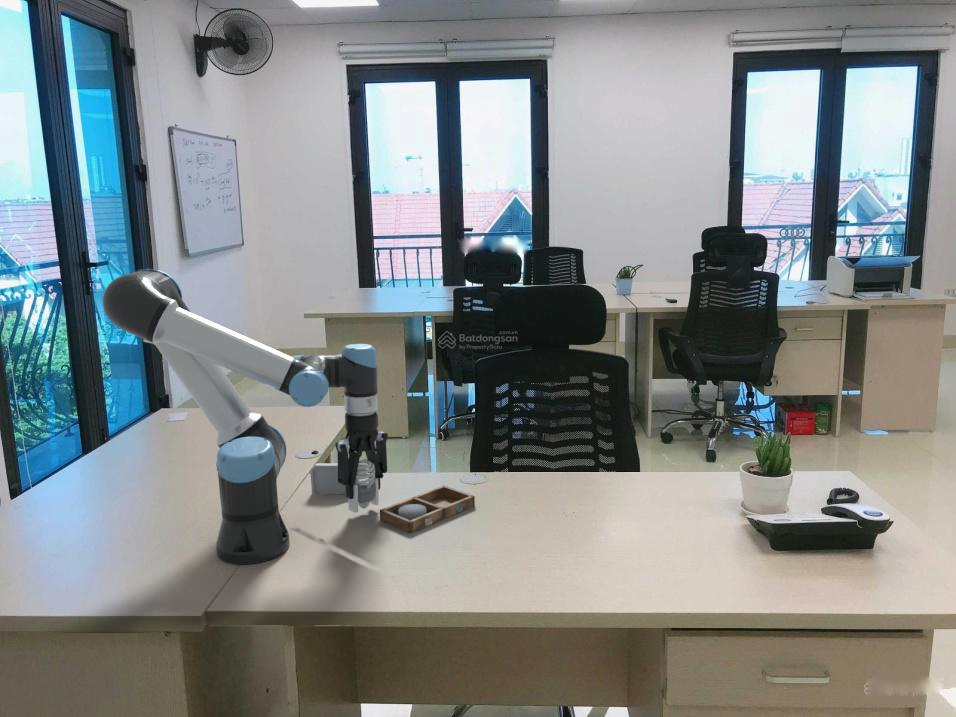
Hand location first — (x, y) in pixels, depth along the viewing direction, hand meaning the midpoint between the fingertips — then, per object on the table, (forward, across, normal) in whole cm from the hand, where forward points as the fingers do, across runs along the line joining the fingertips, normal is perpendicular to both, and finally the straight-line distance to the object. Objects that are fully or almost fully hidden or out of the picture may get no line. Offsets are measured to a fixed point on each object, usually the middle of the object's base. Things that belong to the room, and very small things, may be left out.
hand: (363, 506), depth 182 cm
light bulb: (+1, 0, 0) cm, 1 cm away
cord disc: (+1, +5, -12) cm, 13 cm away
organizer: (+2, +10, -12) cm, 15 cm away
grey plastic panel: (+3, +5, +18) cm, 18 cm away
